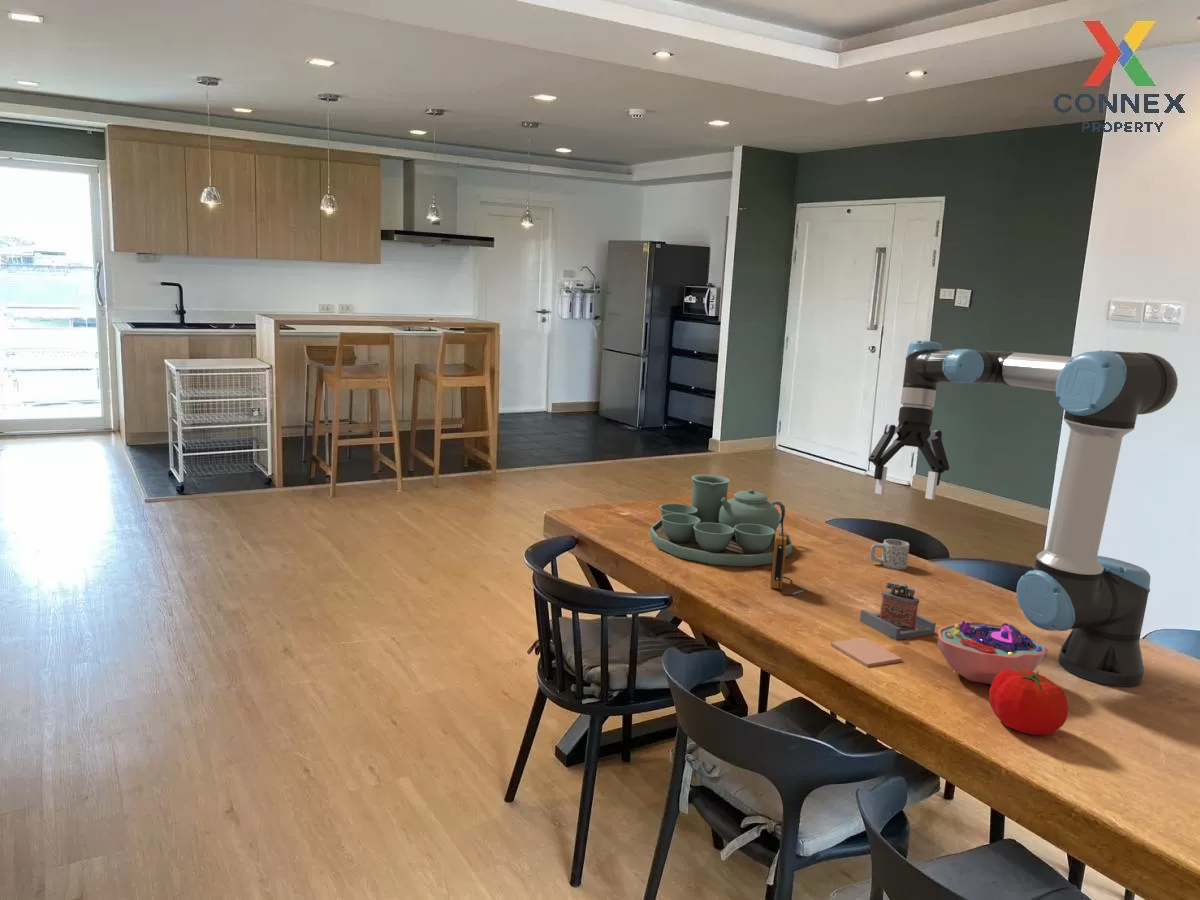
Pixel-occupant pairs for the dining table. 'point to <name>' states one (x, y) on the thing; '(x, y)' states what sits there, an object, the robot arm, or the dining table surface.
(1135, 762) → the dining table surface
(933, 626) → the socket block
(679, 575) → the dining table surface
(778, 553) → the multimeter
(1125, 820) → the dining table surface
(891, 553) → the mug
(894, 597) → the lighter
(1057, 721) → the tomato
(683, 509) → the tea set
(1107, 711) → the dining table surface
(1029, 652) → the cell model
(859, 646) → the mat
